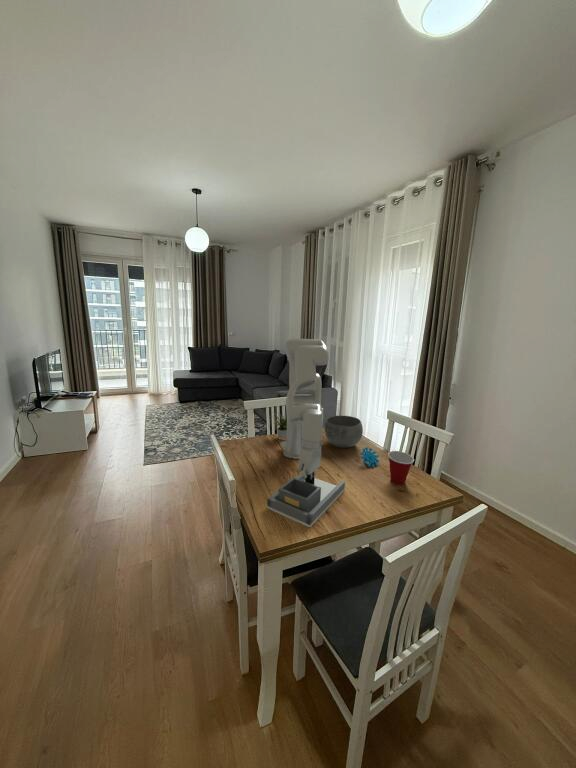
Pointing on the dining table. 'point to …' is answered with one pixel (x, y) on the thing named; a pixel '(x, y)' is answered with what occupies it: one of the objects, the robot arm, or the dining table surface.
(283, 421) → the house plant
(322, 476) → the dining table surface
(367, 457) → the gear
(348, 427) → the bowl
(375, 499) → the dining table surface
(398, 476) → the plastic cup
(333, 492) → the bay
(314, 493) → the crate
